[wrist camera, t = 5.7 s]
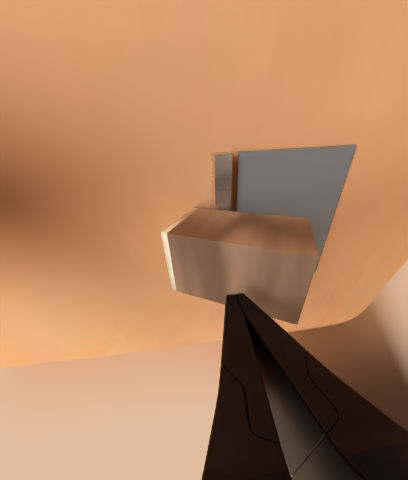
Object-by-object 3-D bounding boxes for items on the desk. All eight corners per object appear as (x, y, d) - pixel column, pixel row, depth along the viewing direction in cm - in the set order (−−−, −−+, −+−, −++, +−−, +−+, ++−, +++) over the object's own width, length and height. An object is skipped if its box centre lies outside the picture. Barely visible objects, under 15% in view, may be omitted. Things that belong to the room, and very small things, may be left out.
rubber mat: (232, 281, 18) (233, 282, 18) (238, 151, 13) (239, 151, 12) (314, 270, 19) (315, 271, 19) (354, 145, 13) (356, 144, 13)
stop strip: (214, 283, 18) (216, 290, 17) (211, 153, 12) (214, 154, 12) (226, 281, 18) (228, 288, 17) (228, 152, 13) (232, 153, 12)
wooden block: (171, 289, 13) (297, 324, 10) (161, 232, 10) (318, 256, 8) (197, 255, 16) (294, 273, 13) (193, 207, 14) (308, 218, 11)
